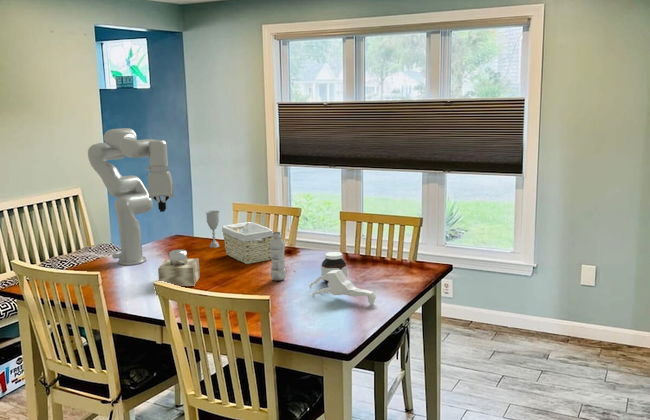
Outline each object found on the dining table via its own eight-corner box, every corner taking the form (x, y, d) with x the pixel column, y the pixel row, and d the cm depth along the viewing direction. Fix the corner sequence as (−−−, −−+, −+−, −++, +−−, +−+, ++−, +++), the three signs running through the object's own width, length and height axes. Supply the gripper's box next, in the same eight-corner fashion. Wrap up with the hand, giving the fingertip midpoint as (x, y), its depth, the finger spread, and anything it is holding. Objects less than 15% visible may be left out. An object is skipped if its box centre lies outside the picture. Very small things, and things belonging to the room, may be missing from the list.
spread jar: (327, 286, 244) (327, 258, 242) (315, 279, 254) (314, 251, 252) (353, 281, 250) (353, 253, 248) (340, 274, 260) (339, 247, 258)
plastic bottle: (289, 278, 256) (287, 231, 253) (282, 282, 250) (280, 235, 246) (274, 277, 258) (272, 230, 255) (268, 281, 252) (266, 234, 248)
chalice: (224, 245, 315) (222, 211, 312) (216, 248, 309) (214, 213, 306) (212, 244, 318) (210, 210, 315) (204, 247, 312) (202, 212, 309)
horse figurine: (321, 320, 232) (374, 306, 218) (306, 279, 233) (358, 262, 219) (328, 316, 236) (381, 302, 222) (313, 276, 237) (365, 259, 223)
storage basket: (275, 260, 285) (274, 229, 283) (244, 266, 277) (242, 234, 274) (252, 250, 305) (250, 221, 302) (222, 255, 296) (220, 225, 293)
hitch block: (159, 287, 248) (158, 268, 246) (166, 277, 261) (165, 259, 260) (194, 286, 248) (193, 267, 247) (199, 276, 262) (198, 258, 260)
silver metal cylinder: (169, 282, 251) (167, 254, 249) (173, 277, 258) (171, 249, 256) (186, 281, 251) (184, 253, 249) (189, 276, 258) (188, 249, 256)
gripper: (139, 170, 259) (143, 213, 262) (175, 169, 259) (178, 212, 263) (144, 168, 266) (147, 210, 270) (178, 167, 267) (181, 209, 270)
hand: (162, 211), depth 266 cm, fingers closed
